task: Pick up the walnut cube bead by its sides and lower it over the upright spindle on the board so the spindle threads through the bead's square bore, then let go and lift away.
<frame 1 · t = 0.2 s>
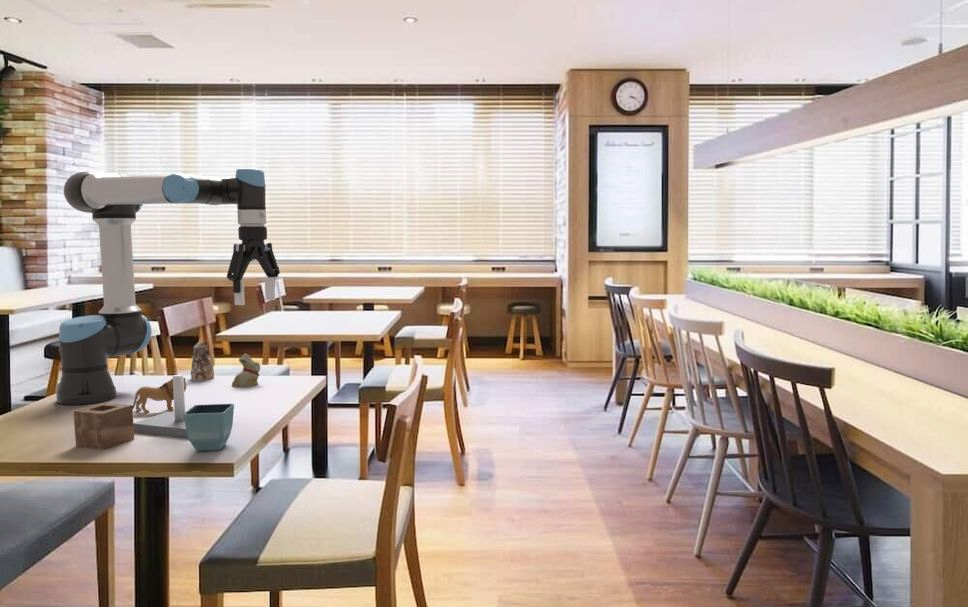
hand: (255, 302, 205), 28 cm above the table, fingers open, 13 cm apart
lion figurine: (160, 411, 198), on the table
flower pot: (211, 448, 163), on the table
figurine: (202, 378, 239), on the table
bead: (105, 442, 168), on the table
chocolate bunny: (246, 385, 229), on the table
spindle stand: (180, 428, 180), on the table
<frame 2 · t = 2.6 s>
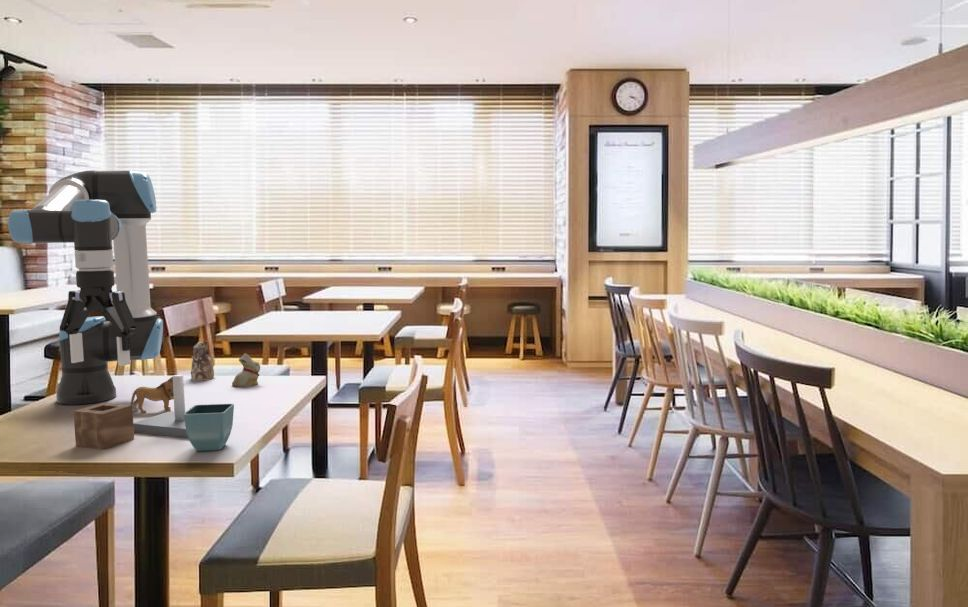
hand: (100, 363, 166), 18 cm above the table, fingers open, 13 cm apart
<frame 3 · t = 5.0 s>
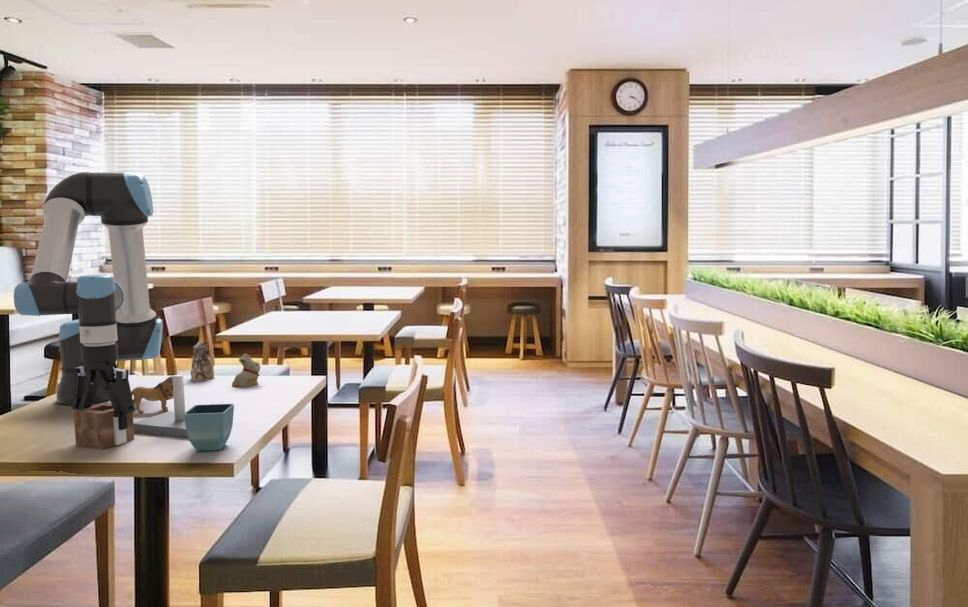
hand: (104, 441, 168), 0 cm above the table, fingers closed on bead, 8 cm apart
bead: (105, 442, 168), on the table, touching gripper
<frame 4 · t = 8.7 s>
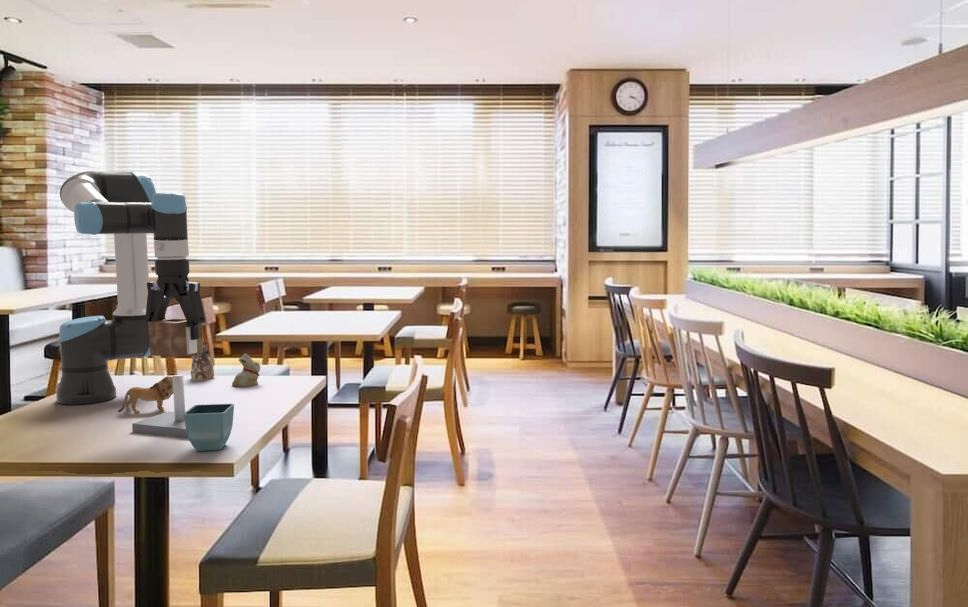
hand: (176, 352, 178), 19 cm above the table, fingers closed on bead, 8 cm apart
lion figurine: (150, 411, 197), on the table
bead: (177, 353, 178), point 19 cm above the table, touching gripper
everything else where it was.
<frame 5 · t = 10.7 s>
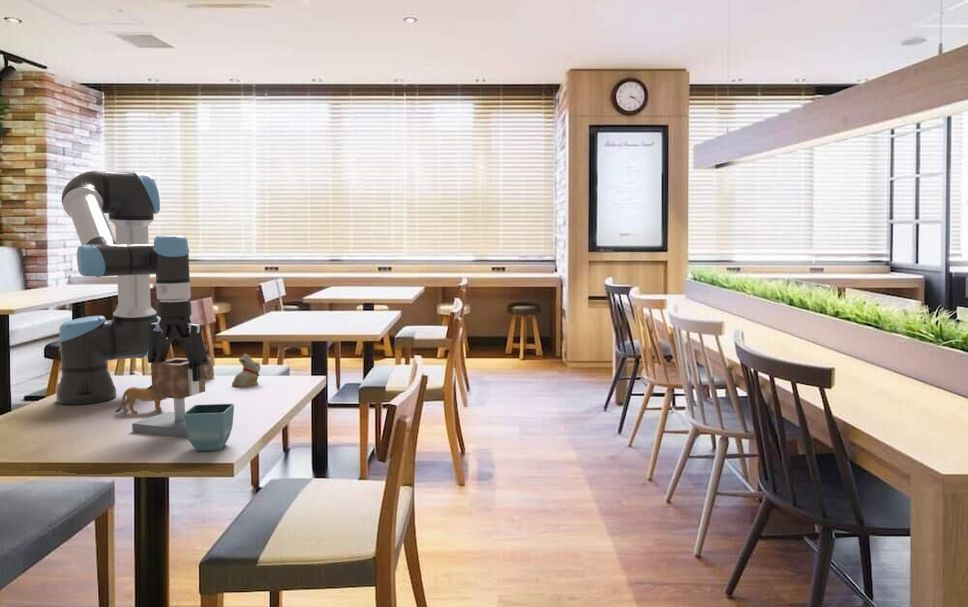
hand: (178, 393, 179), 9 cm above the table, fingers closed on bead, 8 cm apart
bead: (179, 393, 179), point 9 cm above the table, touching gripper
when the fingers open (4 cm above the table, at t = 12.4 s): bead drops 2 cm, resting on spindle stand.
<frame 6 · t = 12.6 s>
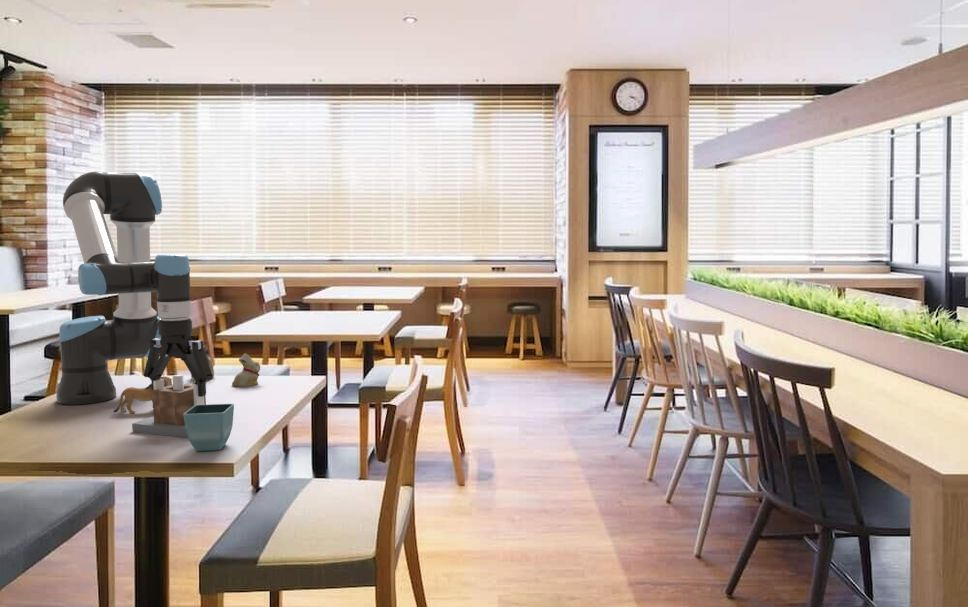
hand: (179, 407, 179), 5 cm above the table, fingers open, 11 cm apart
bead: (180, 420, 180), point 2 cm above the table, touching spindle stand
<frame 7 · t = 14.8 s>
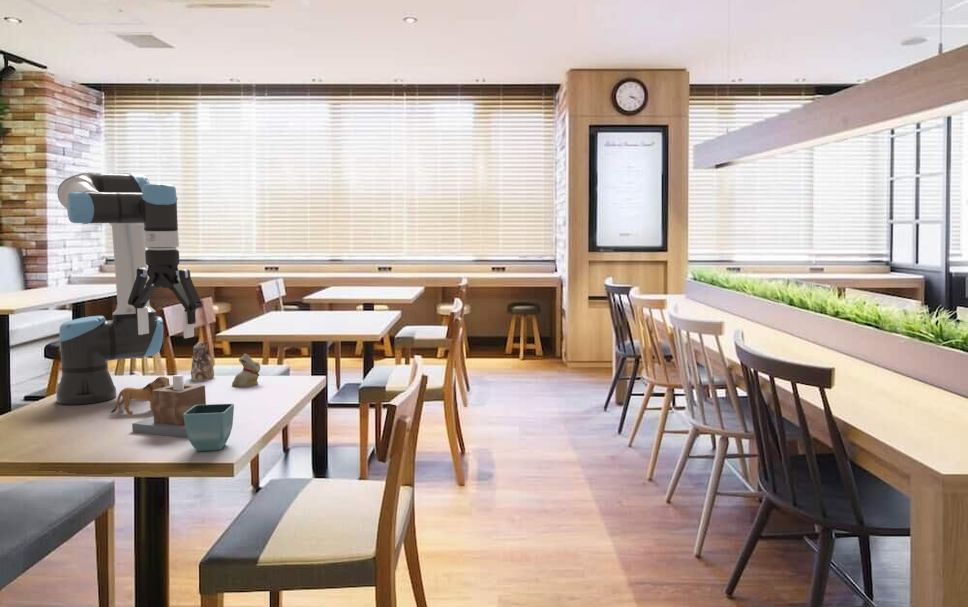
hand: (166, 335, 180), 22 cm above the table, fingers open, 13 cm apart
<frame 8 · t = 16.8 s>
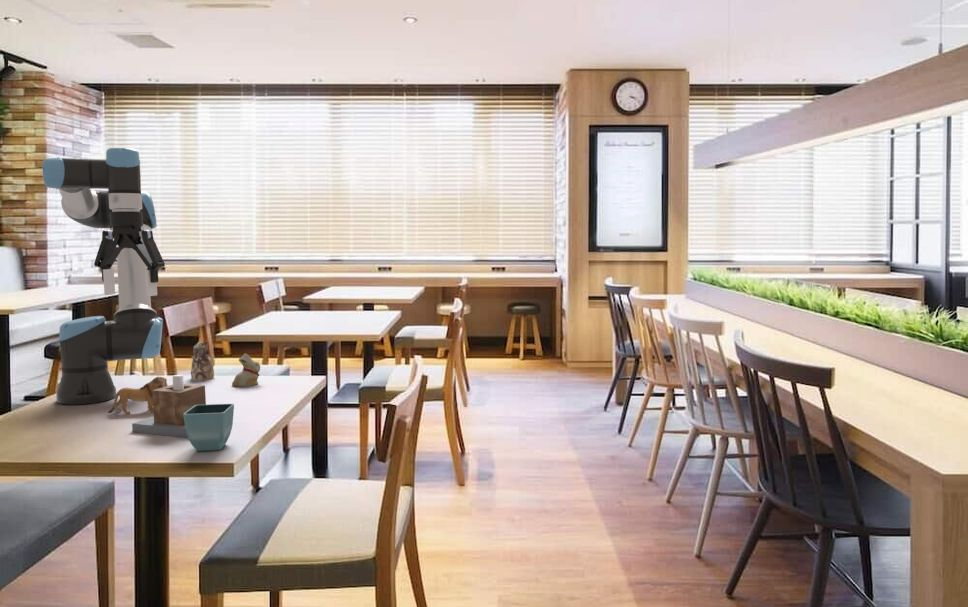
hand: (130, 295, 187), 32 cm above the table, fingers open, 13 cm apart
at the end: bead 0.1 cm off-centre on the spindle stand, point 2.0 cm above the spindle stand's base; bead tilted 0°; the gripper is holding nothing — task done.
